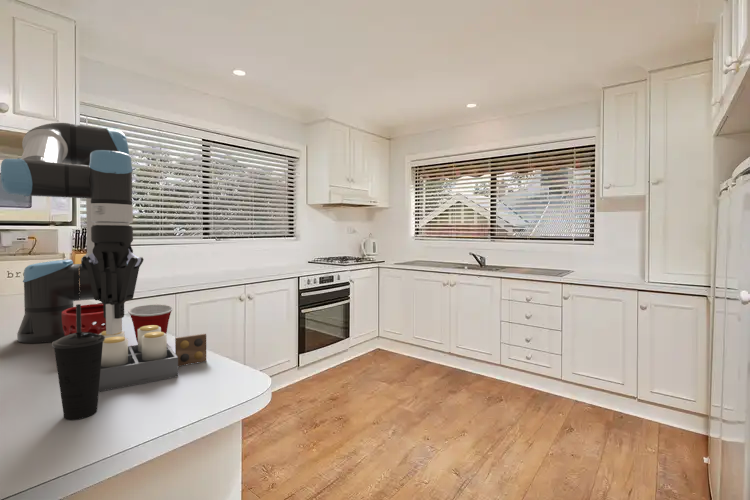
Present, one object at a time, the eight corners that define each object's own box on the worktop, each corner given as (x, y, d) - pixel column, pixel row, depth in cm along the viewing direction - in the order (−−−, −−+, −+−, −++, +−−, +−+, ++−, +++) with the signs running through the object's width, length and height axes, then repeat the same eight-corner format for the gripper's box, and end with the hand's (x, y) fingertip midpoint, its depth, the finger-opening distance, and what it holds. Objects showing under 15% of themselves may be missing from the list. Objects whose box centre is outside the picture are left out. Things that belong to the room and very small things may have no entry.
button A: (98, 353, 94) (98, 330, 93) (123, 349, 97) (123, 327, 96) (99, 359, 90) (99, 335, 89) (125, 355, 93) (125, 332, 92)
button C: (100, 362, 87) (99, 338, 87) (126, 358, 90) (126, 334, 90) (101, 368, 83) (100, 343, 83) (129, 364, 86) (128, 339, 86)
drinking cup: (72, 405, 76) (70, 300, 75) (114, 404, 76) (113, 300, 75) (42, 424, 68) (39, 308, 67) (89, 423, 69) (87, 308, 68)
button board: (90, 370, 94) (89, 351, 94) (165, 358, 104) (165, 341, 104) (92, 392, 81) (92, 371, 81) (178, 376, 91) (178, 357, 91)
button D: (140, 356, 92) (140, 333, 92) (164, 352, 95) (164, 330, 95) (143, 361, 88) (143, 337, 88) (168, 357, 91) (168, 334, 91)
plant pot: (62, 349, 110) (61, 306, 110) (119, 341, 118) (118, 301, 118) (62, 361, 100) (60, 314, 99) (123, 352, 108) (122, 308, 107)
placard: (175, 365, 98) (175, 337, 98) (205, 360, 103) (205, 333, 102) (176, 366, 97) (176, 338, 97) (206, 361, 102) (206, 334, 101)
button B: (136, 348, 98) (136, 326, 98) (159, 344, 101) (159, 323, 101) (139, 353, 94) (138, 330, 94) (162, 349, 97) (162, 327, 97)
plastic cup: (128, 359, 102) (128, 313, 102) (128, 348, 111) (127, 306, 111) (175, 353, 108) (175, 309, 108) (171, 343, 117) (171, 303, 117)
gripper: (69, 223, 83) (72, 336, 84) (126, 224, 81) (128, 339, 82) (99, 224, 90) (101, 327, 91) (152, 225, 88) (153, 330, 89)
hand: (114, 332), depth 87 cm, fingers closed
